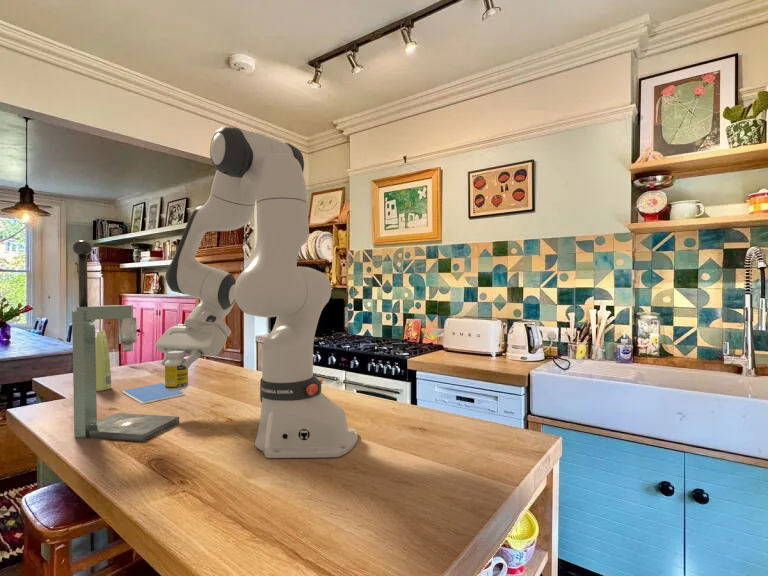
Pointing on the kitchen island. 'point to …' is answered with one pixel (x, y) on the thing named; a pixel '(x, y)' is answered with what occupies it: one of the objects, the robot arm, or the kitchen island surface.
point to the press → (85, 368)
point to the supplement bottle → (175, 372)
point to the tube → (102, 362)
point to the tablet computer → (151, 393)
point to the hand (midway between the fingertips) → (174, 366)
